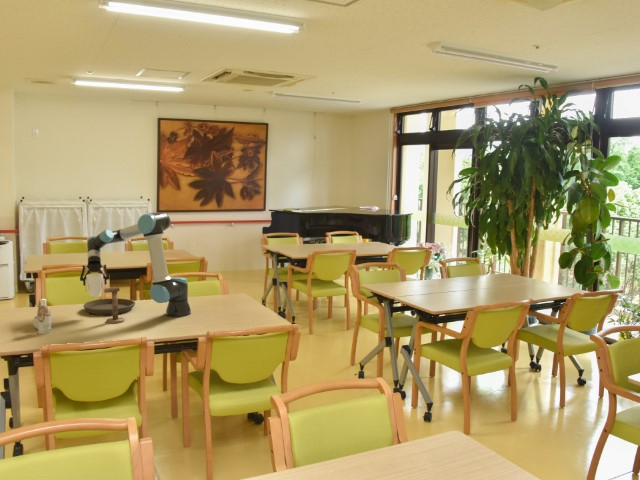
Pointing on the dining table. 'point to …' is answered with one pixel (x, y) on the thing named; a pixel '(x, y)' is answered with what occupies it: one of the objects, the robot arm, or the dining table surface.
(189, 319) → the dining table surface
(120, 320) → the walnut post
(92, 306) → the plant saucer
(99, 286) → the foam cup
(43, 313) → the cosmetic set
